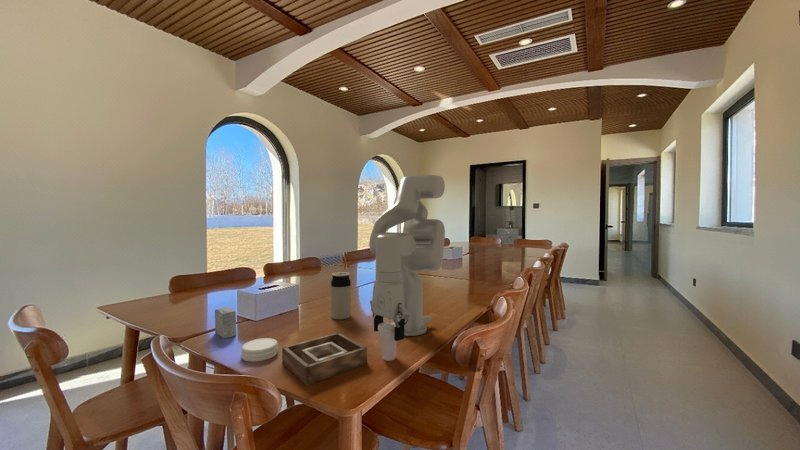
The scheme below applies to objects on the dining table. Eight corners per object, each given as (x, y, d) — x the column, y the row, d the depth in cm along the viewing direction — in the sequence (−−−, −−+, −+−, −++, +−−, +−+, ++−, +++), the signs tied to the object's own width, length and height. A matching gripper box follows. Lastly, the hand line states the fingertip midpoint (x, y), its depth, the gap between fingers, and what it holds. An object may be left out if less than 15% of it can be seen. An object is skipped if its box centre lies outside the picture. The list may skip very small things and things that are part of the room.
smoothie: (403, 356, 96) (403, 309, 96) (391, 364, 91) (391, 315, 90) (385, 351, 100) (385, 306, 99) (373, 359, 94) (373, 311, 94)
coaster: (240, 365, 91) (240, 353, 91) (242, 351, 100) (242, 340, 100) (278, 358, 95) (278, 347, 95) (277, 346, 104) (276, 335, 104)
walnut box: (338, 346, 103) (338, 332, 103) (367, 363, 91) (367, 348, 91) (282, 362, 92) (282, 347, 92) (306, 385, 80) (306, 367, 80)
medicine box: (236, 335, 113) (236, 311, 113) (222, 339, 110) (222, 313, 109) (228, 330, 118) (227, 306, 118) (214, 333, 115) (214, 309, 115)
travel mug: (349, 320, 130) (348, 275, 129) (329, 319, 130) (328, 275, 129) (352, 313, 138) (351, 271, 137) (333, 313, 138) (333, 271, 137)
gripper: (361, 274, 99) (361, 329, 99) (397, 283, 85) (397, 347, 86) (380, 271, 103) (381, 324, 104) (418, 279, 90) (418, 340, 91)
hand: (388, 334), depth 95 cm, fingers open, 9 cm apart
